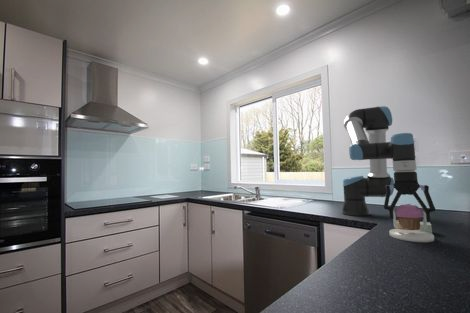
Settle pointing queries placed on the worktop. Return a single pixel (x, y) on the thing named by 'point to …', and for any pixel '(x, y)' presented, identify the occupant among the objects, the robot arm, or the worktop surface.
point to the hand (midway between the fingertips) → (410, 228)
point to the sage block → (427, 227)
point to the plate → (411, 235)
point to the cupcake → (409, 216)
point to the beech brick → (398, 225)
